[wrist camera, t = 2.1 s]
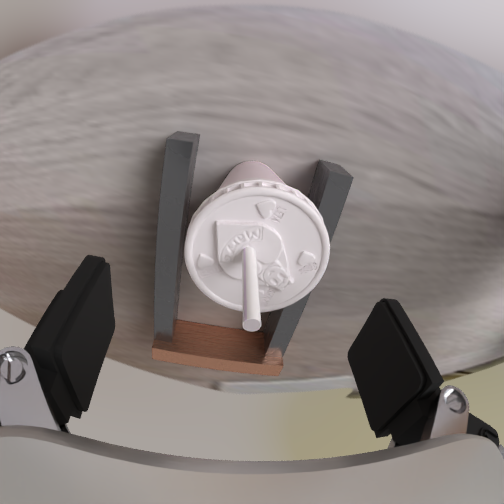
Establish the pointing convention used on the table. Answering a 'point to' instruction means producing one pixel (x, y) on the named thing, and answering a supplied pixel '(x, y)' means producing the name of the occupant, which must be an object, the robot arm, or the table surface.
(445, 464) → the robot arm
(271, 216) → the smoothie
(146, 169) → the table surface
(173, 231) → the grey frame
